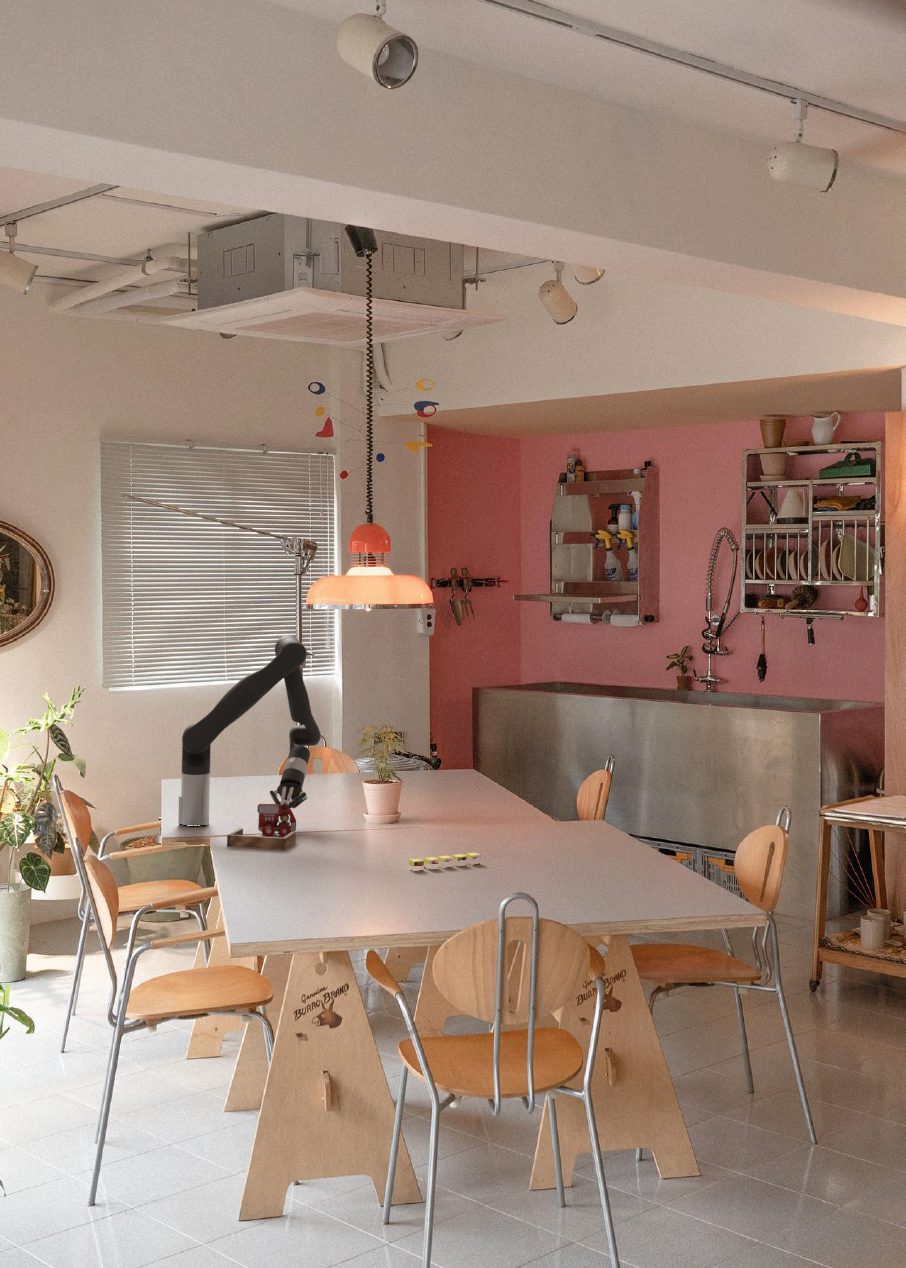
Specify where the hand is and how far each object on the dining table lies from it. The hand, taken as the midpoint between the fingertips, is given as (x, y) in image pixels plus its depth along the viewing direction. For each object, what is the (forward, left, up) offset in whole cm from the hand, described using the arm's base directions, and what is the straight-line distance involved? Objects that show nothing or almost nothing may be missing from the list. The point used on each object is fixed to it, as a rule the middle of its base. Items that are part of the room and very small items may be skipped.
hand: (282, 816), depth 418 cm
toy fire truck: (0, -6, -5) cm, 8 cm away
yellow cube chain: (+62, -36, -6) cm, 72 cm away
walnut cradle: (0, -21, -5) cm, 21 cm away
